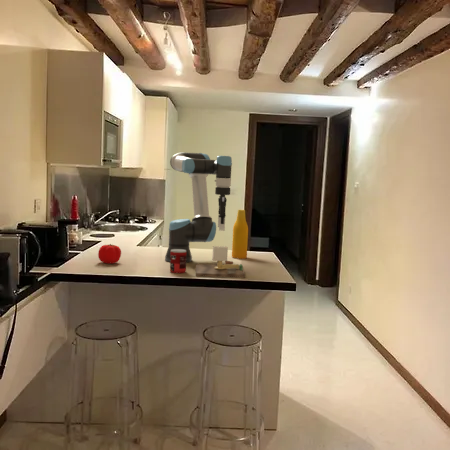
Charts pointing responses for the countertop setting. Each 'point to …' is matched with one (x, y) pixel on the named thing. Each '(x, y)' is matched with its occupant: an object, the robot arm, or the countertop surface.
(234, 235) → the beer bottle
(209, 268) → the gauge plate
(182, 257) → the canned food
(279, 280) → the countertop surface
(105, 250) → the tomato
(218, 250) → the tuning peg
